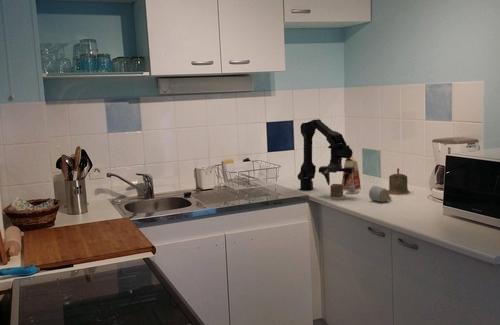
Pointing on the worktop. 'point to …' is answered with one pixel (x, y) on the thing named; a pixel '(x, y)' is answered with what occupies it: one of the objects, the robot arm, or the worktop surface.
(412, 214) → the worktop surface
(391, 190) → the rusty brown bell
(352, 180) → the milk carton
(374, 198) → the ceramic mug
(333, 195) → the brown rectangular block
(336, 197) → the post
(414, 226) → the worktop surface
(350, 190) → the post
